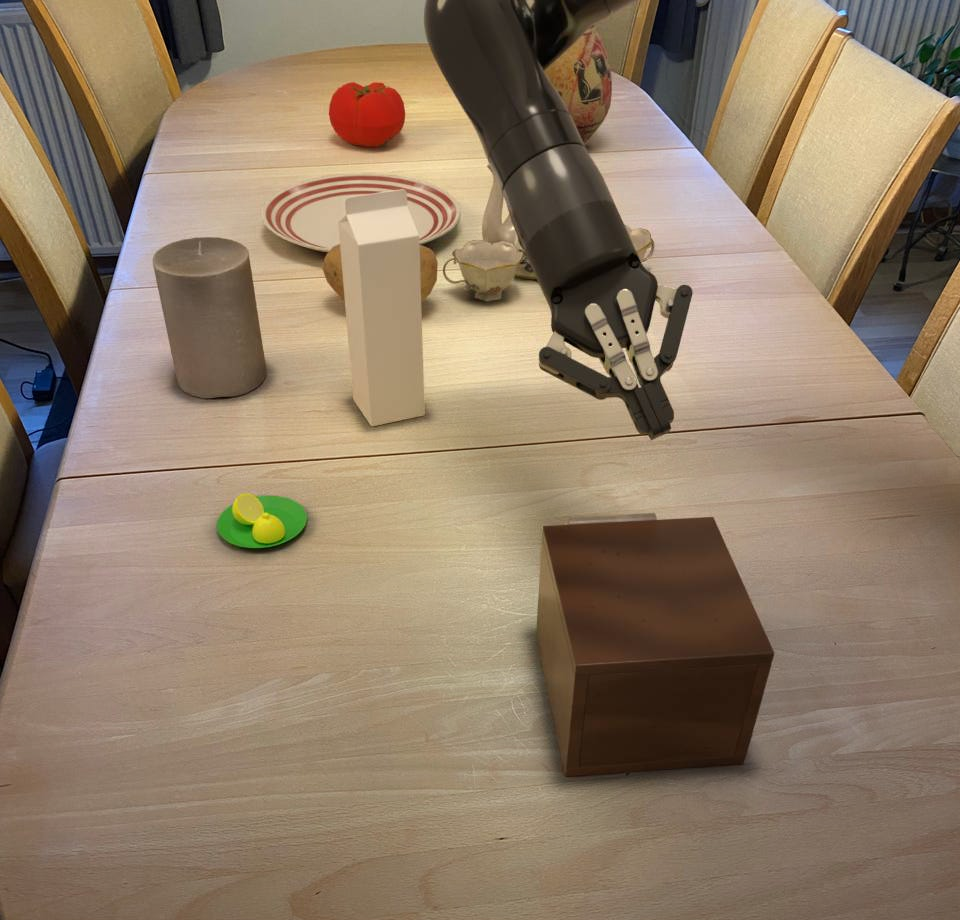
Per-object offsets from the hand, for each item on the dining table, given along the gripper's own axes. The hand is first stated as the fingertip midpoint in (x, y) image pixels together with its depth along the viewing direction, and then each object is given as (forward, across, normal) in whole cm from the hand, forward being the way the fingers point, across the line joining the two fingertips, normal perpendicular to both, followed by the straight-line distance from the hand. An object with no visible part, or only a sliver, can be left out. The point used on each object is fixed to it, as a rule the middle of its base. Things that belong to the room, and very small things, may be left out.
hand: (661, 434), depth 77 cm
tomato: (-79, -6, +93) cm, 122 cm away
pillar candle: (-30, -35, +33) cm, 57 cm away
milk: (-18, -19, +30) cm, 40 cm away
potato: (-35, -16, +47) cm, 61 cm away
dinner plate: (-53, -14, +64) cm, 84 cm away
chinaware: (-33, +5, +55) cm, 65 cm away
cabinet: (+17, -10, 0) cm, 20 cm away
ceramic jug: (-65, +23, +94) cm, 117 cm away
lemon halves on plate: (-9, -33, +14) cm, 37 cm away
